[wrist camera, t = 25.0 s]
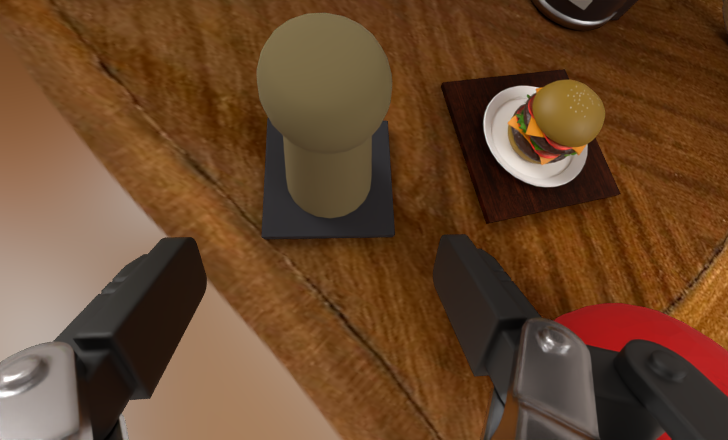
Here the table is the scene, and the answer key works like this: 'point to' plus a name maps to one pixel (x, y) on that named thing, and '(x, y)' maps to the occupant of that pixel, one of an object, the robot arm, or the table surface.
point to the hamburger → (530, 142)
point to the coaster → (298, 224)
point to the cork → (325, 107)
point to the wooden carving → (725, 14)
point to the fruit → (648, 336)
